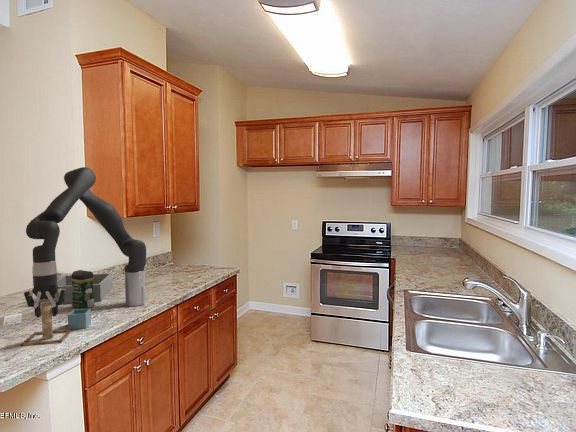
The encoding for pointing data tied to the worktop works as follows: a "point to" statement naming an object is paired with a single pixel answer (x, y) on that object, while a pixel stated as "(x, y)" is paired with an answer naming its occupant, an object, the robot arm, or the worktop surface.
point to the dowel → (47, 320)
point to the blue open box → (79, 319)
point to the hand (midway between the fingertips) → (46, 316)
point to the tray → (26, 342)
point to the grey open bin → (100, 287)
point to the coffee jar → (82, 289)
